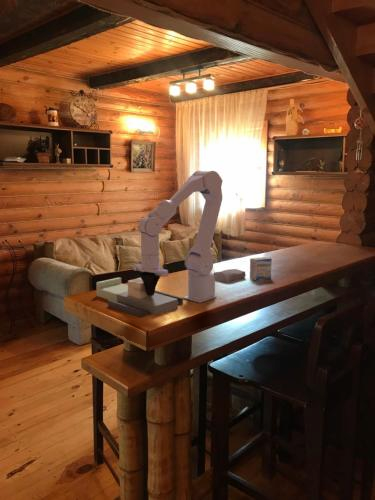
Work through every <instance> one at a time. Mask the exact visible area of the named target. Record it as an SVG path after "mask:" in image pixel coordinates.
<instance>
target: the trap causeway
mask: <svg viewBox="0 0 375 500" xmlns="http://www.w3.org/2000/svg"><path fill="white" fill-rule="evenodd" d="M95 285H96V296H97V297H98V298H101V299H104V300H107V307H110V308H111V309H115V310H117V311H120V312H123V313H126V314H129V315H132V316H135V317H138V318H143V317H145V316H149V315H153V316H157V315H162V314H164V313H166V312H170V311H173V310H176V309H178V308H179V306H180V305H183V303H184V298H183V297H181V296H177V295H174V294H170V293H167V292H164V291H163V292H162V291H159V290H156V289H155V293H154V295H151V296H148V297H144V298H141V299H139V298H136V297H133V296H129V295H128V284H126V283H122V277H114V278H111V279H106V280H102V281H97V282H96V284H95Z"/></svg>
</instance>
